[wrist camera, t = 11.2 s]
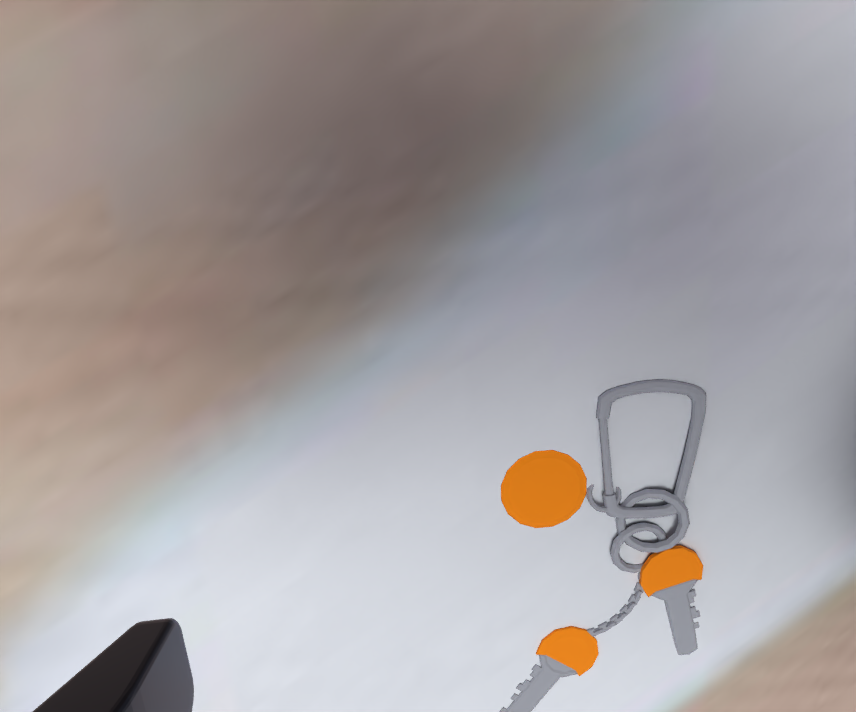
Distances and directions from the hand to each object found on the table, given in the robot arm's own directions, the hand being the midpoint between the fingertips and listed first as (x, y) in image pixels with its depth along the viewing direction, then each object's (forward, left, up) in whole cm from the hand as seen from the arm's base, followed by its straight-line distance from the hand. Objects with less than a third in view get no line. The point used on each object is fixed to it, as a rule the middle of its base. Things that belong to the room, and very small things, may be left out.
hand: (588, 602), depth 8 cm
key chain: (-4, +9, -14) cm, 17 cm away
